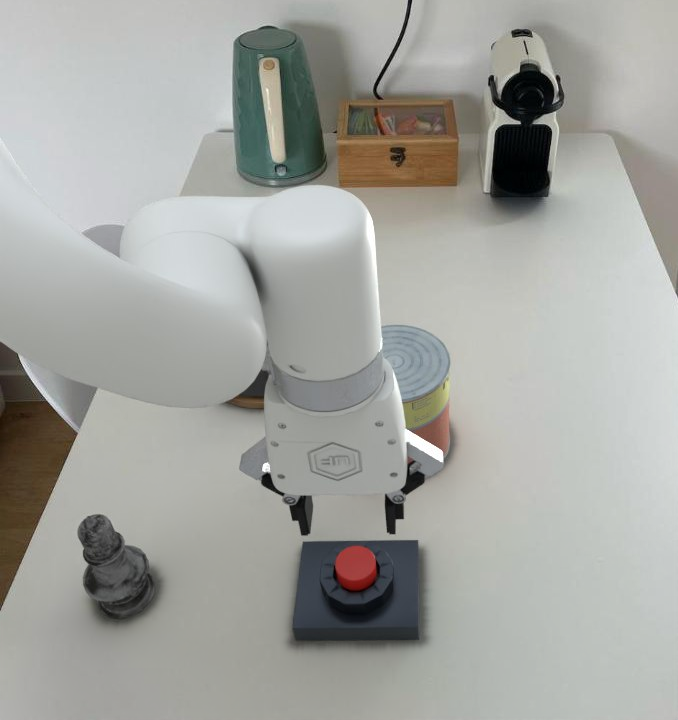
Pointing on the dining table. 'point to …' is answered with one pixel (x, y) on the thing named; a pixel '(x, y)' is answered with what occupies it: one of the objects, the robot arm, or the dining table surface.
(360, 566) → the button
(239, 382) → the robot arm
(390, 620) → the button box
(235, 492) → the dining table surface
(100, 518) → the grey chess pawn
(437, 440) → the canned food
